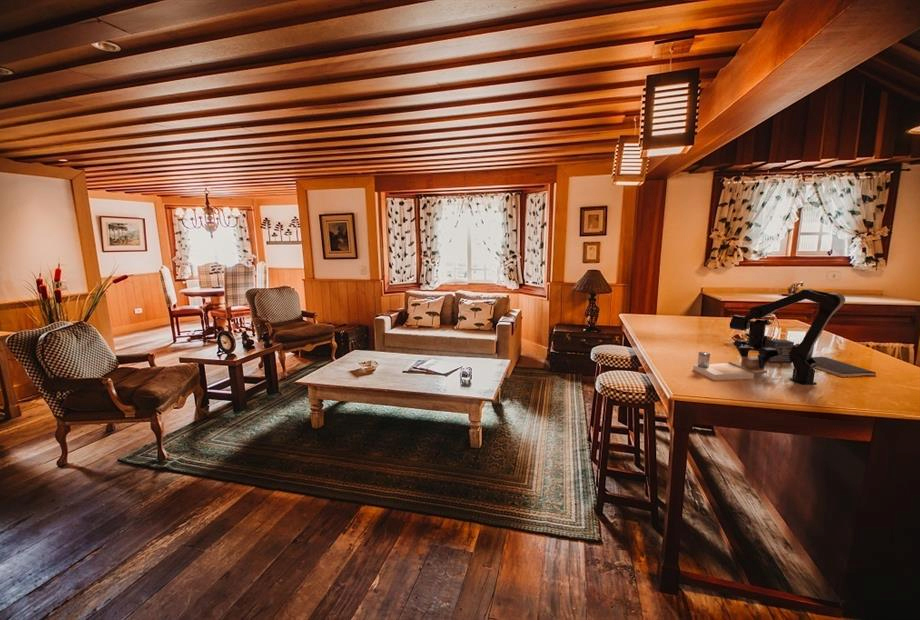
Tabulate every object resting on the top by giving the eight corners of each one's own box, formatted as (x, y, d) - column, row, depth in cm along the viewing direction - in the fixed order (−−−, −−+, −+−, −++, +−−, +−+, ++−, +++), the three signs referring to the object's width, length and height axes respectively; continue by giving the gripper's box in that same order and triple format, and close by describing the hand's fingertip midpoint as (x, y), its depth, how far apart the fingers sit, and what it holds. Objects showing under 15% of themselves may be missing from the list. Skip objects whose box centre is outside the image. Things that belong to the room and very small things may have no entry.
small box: (782, 359, 195) (785, 339, 193) (792, 363, 189) (795, 342, 187) (760, 358, 196) (762, 338, 194) (769, 362, 190) (771, 342, 188)
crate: (766, 372, 176) (768, 359, 175) (748, 373, 176) (749, 360, 175) (755, 368, 182) (757, 355, 181) (737, 369, 182) (739, 356, 181)
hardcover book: (840, 378, 169) (841, 373, 169) (793, 362, 192) (794, 357, 191) (875, 376, 170) (876, 372, 169) (824, 361, 192) (825, 356, 192)
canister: (711, 367, 176) (712, 354, 175) (701, 368, 176) (703, 354, 175) (704, 364, 180) (705, 351, 179) (694, 365, 180) (696, 352, 179)
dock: (754, 378, 169) (755, 371, 168) (714, 380, 168) (715, 373, 167) (730, 368, 182) (730, 362, 182) (693, 369, 181) (693, 363, 181)
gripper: (792, 337, 167) (787, 371, 170) (756, 327, 186) (752, 358, 188) (767, 338, 166) (763, 372, 169) (734, 328, 185) (731, 359, 188)
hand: (752, 365), depth 179 cm, fingers open, 9 cm apart
